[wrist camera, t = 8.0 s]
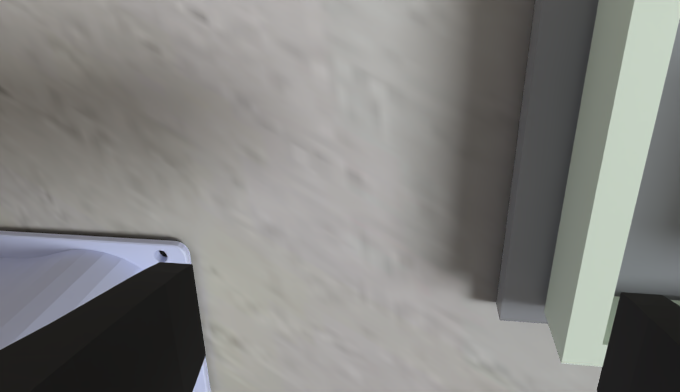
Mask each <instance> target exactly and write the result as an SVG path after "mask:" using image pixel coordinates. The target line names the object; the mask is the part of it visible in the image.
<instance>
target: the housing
mask: <svg viewBox="0 0 680 392" xmlns="http://www.w3.org/2000/svg"><path fill="white" fill-rule="evenodd" d="M679 20H680V0H599V2H598V7H597V13H596V19H595V24H594V30H593V36H592V42H591V47H590V53H589V59H588V64H587V70H586V76H585V82H584V87H583V93H582V99H581V104H580V110H579V116H578V121H577V127H576V133H575V139H574V144H573V150H572V156H571V161H570V167H569V173H568V179H567V184H566V190H565V196H564V201H563V207H562V213H561V219H560V224H559V230H558V236H557V241H556V247H555V253H554V258H553V264H552V270H551V276H550V281H549V287H548V293H547V298H546V304H545V310H544V313H545V316H546V319H547V322H548V325H549V328H550V331H551V334H552V337H553V340H554V343H555V346H556V349H557V352H558V355H559V358H560V361H561V363H563V364H575V365H588V366H600V367H603V363H604V359H605V355H606V351H607V347H608V343H609V339H610V334H611V330H612V326H613V322H614V318H615V314H616V310H617V306H618V302H619V298H620V297H617V296H614V293H615V289H616V285H617V281H618V277H619V272H620V268H621V264H622V260H623V256H624V251H625V247H626V243H627V239H628V234H629V230H630V226H631V222H632V218H633V213H634V209H635V205H636V201H637V197H638V192H639V188H640V184H641V180H642V176H643V171H644V167H645V163H646V159H647V155H648V150H649V146H650V142H651V138H652V134H653V129H654V125H655V121H656V117H657V112H658V108H659V104H660V100H661V96H662V91H663V87H664V83H665V79H666V75H667V70H668V66H669V62H670V58H671V54H672V49H673V45H674V41H675V37H676V33H677V28H678V24H679ZM671 301H673V302H674V303H676V304H677V305H679V306H680V301H678V300H671Z"/></svg>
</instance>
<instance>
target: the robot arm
mask: <svg viewBox="0 0 680 392" xmlns="http://www.w3.org/2000/svg"><path fill="white" fill-rule="evenodd" d="M159 250H161V251H164V252H165V253H166V254H167V256H168V257H165V256H162V255H161V254H160V252H159ZM0 392H211V389H210V383H209V376H208V369H207V363H206V354H205V347H204V340H203V333H202V327H201V320H200V313H199V306H198V300H197V293H196V286H195V279H194V272H193V266H192V264H191V258H190V252H189V250H188V248H187V247H186V246H185V245H184V244H183V243H181V242H178V241H169V240H152V239H134V238H117V237H100V236H83V235H66V234H49V233H31V232H14V231H0ZM597 392H680V306H679V305H677V304H676V303H674V302H673V301H671V300H669V299H668V298H666V297H665V296H663V295H657V294H642V293H626V292H621V294H620V298H619V302H618V306H617V310H616V314H615V318H614V322H613V326H612V330H611V334H610V339H609V343H608V347H607V351H606V355H605V359H604V363H603V367H602V371H601V375H600V379H599V383H598V387H597Z"/></svg>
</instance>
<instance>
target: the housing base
mask: <svg viewBox="0 0 680 392" xmlns="http://www.w3.org/2000/svg"><path fill="white" fill-rule="evenodd" d="M598 2H599V0H535V6H534V14H533V21H532V29H531V37H530V45H529V52H528V60H527V68H526V76H525V83H524V91H523V99H522V107H521V115H520V122H519V130H518V138H517V146H516V153H515V161H514V169H513V177H512V184H511V192H510V200H509V208H508V216H507V223H506V231H505V239H504V247H503V254H502V262H501V270H500V278H499V285H498V293H497V301H496V305H497V309H498V314H499V319H500V320H504V321H518V322H532V323H546V324H548V322H547V319H546V316H545V313H544V310H545V304H546V298H547V293H548V287H549V281H550V276H551V270H552V264H553V258H554V253H555V247H556V241H557V236H558V230H559V224H560V219H561V213H562V207H563V201H564V196H565V190H566V184H567V179H568V173H569V167H570V161H571V156H572V150H573V144H574V139H575V133H576V127H577V121H578V116H579V110H580V104H581V99H582V93H583V87H584V82H585V76H586V70H587V64H588V59H589V53H590V47H591V42H592V36H593V30H594V24H595V19H596V13H597V7H598ZM621 292H626V293H642V294H657V295H663V296H665V297H666V298H668V299H669V300H678V301H680V20H679V24H678V28H677V33H676V37H675V41H674V45H673V49H672V54H671V58H670V62H669V66H668V70H667V75H666V79H665V83H664V87H663V91H662V96H661V100H660V104H659V108H658V112H657V117H656V121H655V125H654V129H653V134H652V138H651V142H650V146H649V150H648V155H647V159H646V163H645V167H644V171H643V176H642V180H641V184H640V188H639V192H638V197H637V201H636V205H635V209H634V213H633V218H632V222H631V226H630V230H629V234H628V239H627V243H626V247H625V251H624V256H623V260H622V264H621V268H620V272H619V277H618V281H617V285H616V289H615V293H614V296H617V297H620V294H621Z"/></svg>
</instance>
